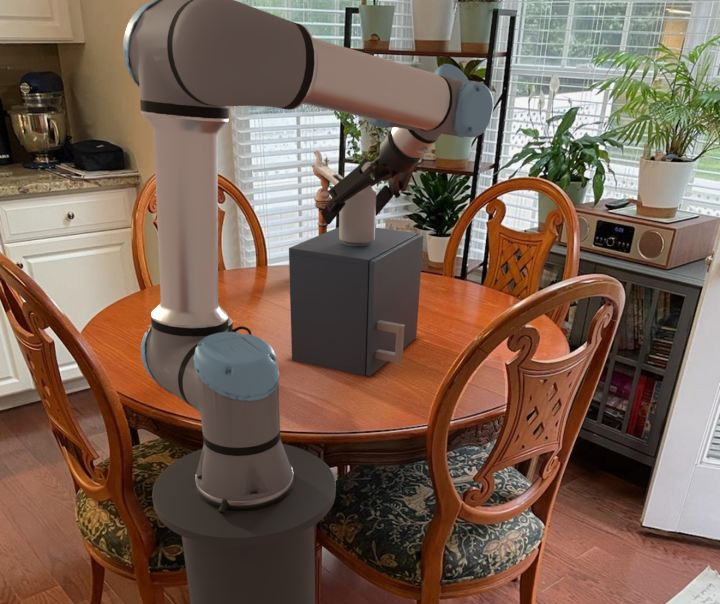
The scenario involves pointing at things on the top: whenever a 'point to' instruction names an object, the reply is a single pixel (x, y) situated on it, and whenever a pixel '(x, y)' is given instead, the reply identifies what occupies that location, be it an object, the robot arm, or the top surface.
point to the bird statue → (323, 187)
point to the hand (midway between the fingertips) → (349, 214)
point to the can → (358, 218)
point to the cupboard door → (393, 303)
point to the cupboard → (334, 298)
